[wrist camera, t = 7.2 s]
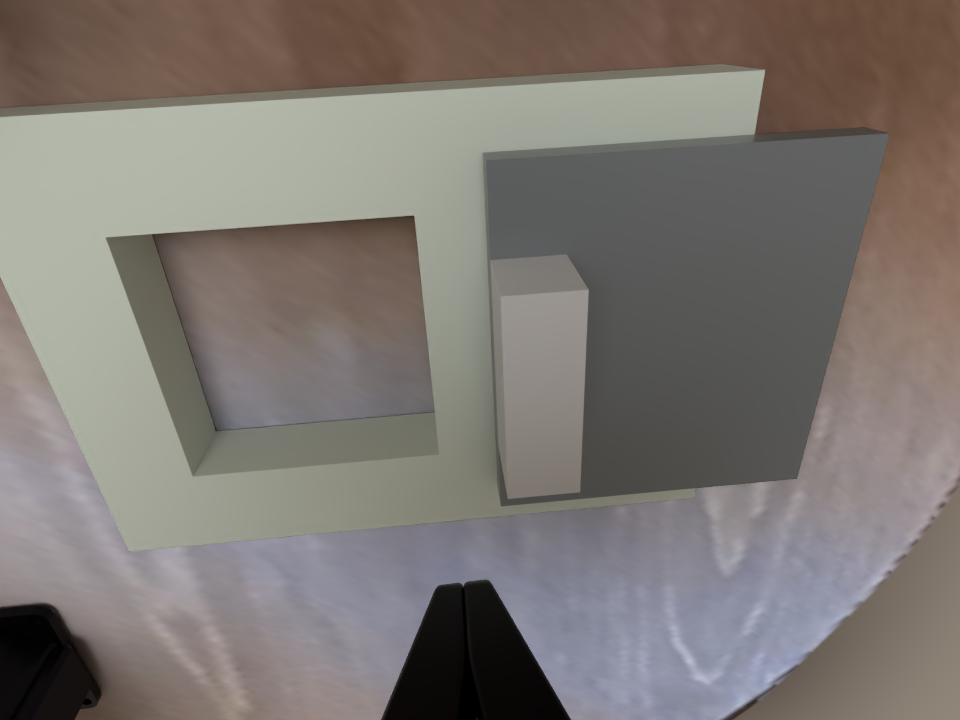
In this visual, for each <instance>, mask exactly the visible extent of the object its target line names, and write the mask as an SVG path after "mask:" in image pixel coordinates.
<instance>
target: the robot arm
mask: <svg viewBox="0 0 960 720" xmlns="http://www.w3.org/2000/svg"><path fill="white" fill-rule="evenodd" d="M101 695H102V694H101V691H100V690H99V688H98V686H97V685H96V683H95V681H94V679H93V678H92V676H91V674H90V673H89V671H88V669H87V668H86V666H85V664H84V663H83V661H82V659H81V658H80V656H79V654H78V653H77V651H76V649H75V648H74V646H73V644H72V643H71V641H70V639H69V637H68V636H67V634H66V632H65V631H64V629H63V627H62V626H61V624H60V622H59V621H58V619H57V617H56V616H55V614H54V613H53V611H52V610H50V609H48V608H46V607H43V606H33V607H23V608H13V609H3V610H0V720H75V718H76V716H77V714H78V712H79V710H80V709H86V708H92V707H95V706H96V705H97V703H98V701H99V699H100V697H101ZM381 720H571V719H570V717H569V715H568V714H567V712H566V710H565V709H564V707H563V705H562V703H561V702H560V700H559V698H558V697H557V695H556V693H555V691H554V690H553V688H552V686H551V685H550V683H549V681H548V679H547V678H546V676H545V674H544V673H543V671H542V669H541V667H540V666H539V664H538V662H537V661H536V659H535V657H534V655H533V654H532V652H531V650H530V649H529V647H528V645H527V643H526V642H525V640H524V638H523V637H522V635H521V633H520V631H519V630H518V628H517V626H516V625H515V623H514V621H513V619H512V618H511V616H510V614H509V613H508V611H507V609H506V607H505V606H504V604H503V602H502V601H501V599H500V597H499V595H498V594H497V592H496V590H495V589H494V587H493V585H492V584H491V582H490V581H489V580H477V581H469V582H466V583H465V584H464V588H463V585H462V584H460V583H453V584H445V585H440V586H438V587H437V588H436V589H435V591H434V593H433V596H432V598H431V601H430V603H429V605H428V608H427V610H426V613H425V615H424V617H423V620H422V622H421V625H420V627H419V629H418V632H417V634H416V637H415V639H414V642H413V644H412V646H411V649H410V651H409V654H408V656H407V658H406V661H405V663H404V666H403V668H402V671H401V673H400V675H399V678H398V680H397V683H396V685H395V687H394V690H393V692H392V695H391V697H390V699H389V702H388V704H387V707H386V709H385V712H384V714H383V716H382V719H381Z"/></svg>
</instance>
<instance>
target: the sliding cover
mask: <svg viewBox="0 0 960 720" xmlns="http://www.w3.org/2000/svg"><path fill="white" fill-rule="evenodd" d="M889 135H890V133H887V132H883V131H878V130H874V129H870V128H865V127H859V128H844V129H829V130H814V131H799V132H784V133H769V134H754V135H739V136H724V137H709V138H694V139H679V140H664V141H649V142H634V143H619V144H604V145H590V146H575V147H560V148H545V149H530V150H515V151H500V152H485V153H483V172H484V194H485V216H486V238H487V261H488V283H489V305H490V327H491V349H492V371H493V393H494V415H495V437H496V459H497V481H498V491H499V497H500V504H501V506H512V505H522V504H533V503H544V502H554V501H565V500H575V499H586V498H596V497H607V496H618V495H628V494H639V493H649V492H660V491H671V490H681V489H692V488H702V487H713V486H724V485H734V484H745V483H755V482H766V481H777V480H787V479H797V476H798V472H799V469H800V465H801V461H802V457H803V454H804V450H805V446H806V443H807V439H808V435H809V431H810V428H811V424H812V420H813V417H814V413H815V409H816V406H817V402H818V398H819V394H820V391H821V387H822V383H823V380H824V376H825V372H826V368H827V365H828V361H829V357H830V354H831V350H832V346H833V342H834V339H835V335H836V331H837V328H838V324H839V320H840V316H841V313H842V309H843V305H844V302H845V298H846V294H847V290H848V287H849V283H850V279H851V276H852V272H853V268H854V264H855V261H856V257H857V253H858V250H859V246H860V242H861V238H862V235H863V231H864V227H865V224H866V220H867V216H868V213H869V209H870V205H871V201H872V198H873V194H874V190H875V187H876V183H877V179H878V175H879V172H880V168H881V164H882V161H883V157H884V153H885V149H886V146H887V142H888V138H889Z"/></svg>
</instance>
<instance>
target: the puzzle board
mask: <svg viewBox="0 0 960 720" xmlns="http://www.w3.org/2000/svg"><path fill="white" fill-rule="evenodd" d="M764 74H765V70H762V69H754V68H747V67H740V66H732V65H725V64H715V65H699V66H683V67H666V68H650V69H633V70H617V71H601V72H584V73H568V74H551V75H535V76H519V77H502V78H486V79H469V80H453V81H437V82H420V83H404V84H388V85H371V86H355V87H338V88H322V89H306V90H289V91H273V92H256V93H240V94H224V95H207V96H191V97H174V98H158V99H142V100H125V101H109V102H92V103H76V104H60V105H43V106H27V107H10V108H0V277H1V279H2V281H3V283H4V286H5V288H6V290H7V292H8V294H9V296H10V298H11V301H12V303H13V305H14V307H15V309H16V311H17V313H18V316H19V318H20V320H21V322H22V324H23V326H24V328H25V330H26V333H27V335H28V337H29V339H30V341H31V343H32V345H33V348H34V350H35V352H36V354H37V356H38V358H39V360H40V362H41V365H42V367H43V369H44V371H45V373H46V375H47V377H48V380H49V382H50V384H51V386H52V388H53V390H54V392H55V395H56V397H57V399H58V401H59V403H60V405H61V407H62V409H63V412H64V414H65V416H66V418H67V420H68V422H69V424H70V427H71V429H72V431H73V433H74V435H75V437H76V439H77V441H78V444H79V446H80V448H81V450H82V452H83V454H84V456H85V459H86V461H87V463H88V465H89V467H90V469H91V471H92V474H93V476H94V478H95V480H96V482H97V484H98V486H99V488H100V491H101V493H102V495H103V497H104V499H105V501H106V503H107V506H108V508H109V510H110V512H111V514H112V516H113V518H114V521H115V523H116V525H117V527H118V529H119V531H120V533H121V535H122V538H123V540H124V542H125V544H126V546H127V548H128V550H129V552H132V551H143V550H153V549H164V548H174V547H185V546H195V545H206V544H216V543H227V542H237V541H248V540H258V539H269V538H279V537H290V536H300V535H311V534H321V533H332V532H342V531H353V530H363V529H374V528H384V527H395V526H405V525H416V524H427V523H437V522H448V521H458V520H469V519H479V518H490V517H500V516H511V515H521V514H532V513H542V512H553V511H563V510H574V509H584V508H595V507H605V506H616V505H626V504H637V503H647V502H658V501H668V500H679V499H689V498H695V492H696V488H692V489H681V490H671V491H660V492H649V493H639V494H628V495H618V496H607V497H596V498H586V499H575V500H565V501H554V502H544V503H533V504H522V505H512V506H501V504H500V497H499V491H498V481H497V459H496V437H495V415H494V393H493V371H492V349H491V327H490V305H489V283H488V261H487V238H486V216H485V194H484V172H483V153H485V152H500V151H515V150H530V149H545V148H560V147H575V146H590V145H604V144H619V143H634V142H649V141H664V140H679V139H694V138H709V137H724V136H739V135H754V134H755V128H756V122H757V116H758V110H759V104H760V98H761V92H762V86H763V80H764ZM413 215H414V217H415V226H416V236H417V245H418V255H419V265H420V274H421V284H422V294H423V303H424V313H425V323H426V332H427V342H428V351H429V361H430V371H431V380H432V390H433V400H434V409H435V412H433V413H422V414H410V415H399V416H387V417H376V418H364V419H353V420H341V421H329V422H318V423H306V424H295V425H283V426H272V427H260V428H249V429H237V430H226V431H216V430H215V427H214V424H213V421H212V418H211V414H210V411H209V408H208V405H207V402H206V399H205V396H204V393H203V390H202V387H201V384H200V381H199V378H198V374H197V371H196V368H195V365H194V362H193V359H192V356H191V353H190V350H189V347H188V344H187V341H186V337H185V334H184V331H183V328H182V325H181V322H180V319H179V316H178V313H177V310H176V307H175V304H174V301H173V297H172V294H171V291H170V288H169V285H168V282H167V279H166V276H165V273H164V270H163V267H162V264H161V261H160V257H159V254H158V251H157V248H156V245H155V242H154V239H153V236H152V234H160V233H174V232H188V231H202V230H216V229H230V228H244V227H258V226H272V225H286V224H300V223H314V222H328V221H342V220H356V219H370V218H384V217H399V216H413Z"/></svg>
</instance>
